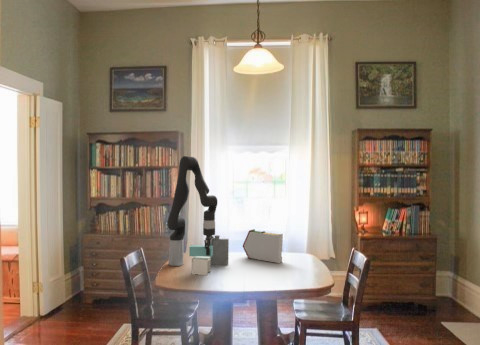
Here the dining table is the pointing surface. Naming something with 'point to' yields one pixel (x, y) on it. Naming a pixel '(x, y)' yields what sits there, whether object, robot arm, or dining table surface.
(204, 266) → the cream rectangular block
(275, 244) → the model house
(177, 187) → the robot arm
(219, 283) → the dining table surface
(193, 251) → the teal rectangular block
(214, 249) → the hip flask
